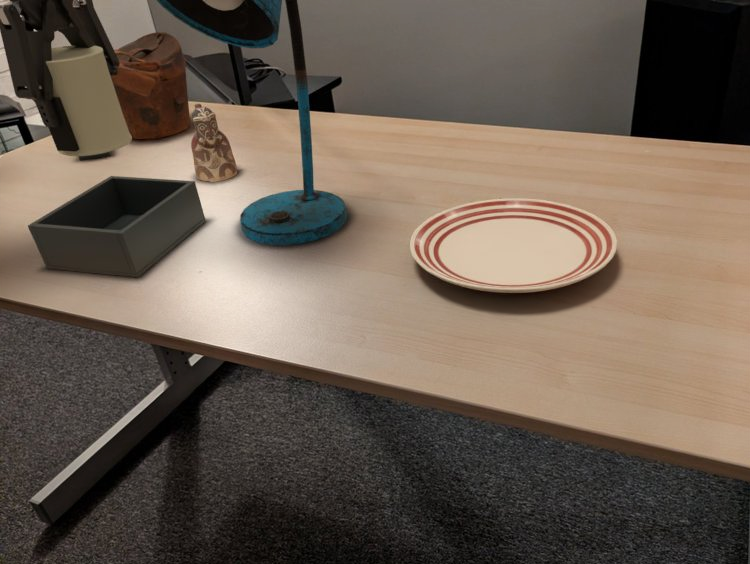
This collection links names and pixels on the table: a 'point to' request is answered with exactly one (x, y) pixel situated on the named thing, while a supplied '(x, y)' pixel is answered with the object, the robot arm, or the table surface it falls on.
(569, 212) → the dinner plate
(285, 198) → the desk lamp
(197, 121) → the figurine
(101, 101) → the can
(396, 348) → the table surface
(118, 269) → the bus tub
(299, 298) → the table surface
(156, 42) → the case
